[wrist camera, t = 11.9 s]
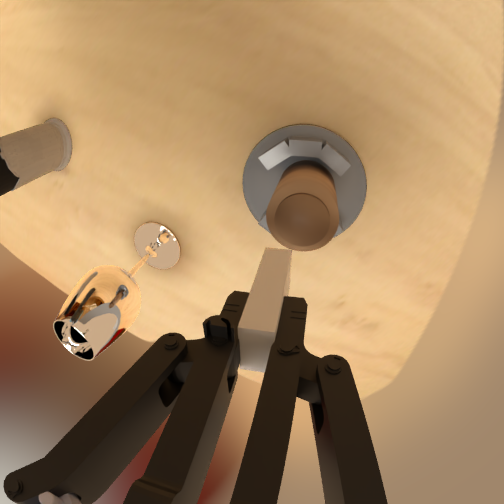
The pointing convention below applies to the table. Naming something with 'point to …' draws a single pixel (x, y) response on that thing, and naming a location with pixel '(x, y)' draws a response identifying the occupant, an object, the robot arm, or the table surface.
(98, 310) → the wineglass
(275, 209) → the stopper
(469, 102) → the table surface
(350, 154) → the grey round base
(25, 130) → the glass holder
